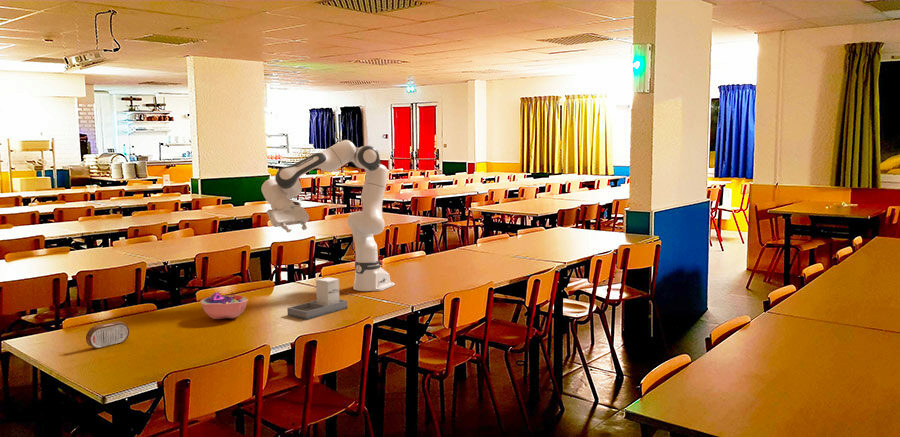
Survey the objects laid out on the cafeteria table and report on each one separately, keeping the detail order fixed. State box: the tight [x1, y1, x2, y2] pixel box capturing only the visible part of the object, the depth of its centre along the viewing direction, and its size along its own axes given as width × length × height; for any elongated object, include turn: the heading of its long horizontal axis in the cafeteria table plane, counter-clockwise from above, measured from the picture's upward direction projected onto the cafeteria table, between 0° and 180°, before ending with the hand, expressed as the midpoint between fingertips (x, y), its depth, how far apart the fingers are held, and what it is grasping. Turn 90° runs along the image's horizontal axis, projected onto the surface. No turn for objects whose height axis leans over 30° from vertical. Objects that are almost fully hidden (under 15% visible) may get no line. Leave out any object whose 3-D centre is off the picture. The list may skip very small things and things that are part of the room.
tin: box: [85, 321, 130, 349], centre depth 251 cm, size 15×3×8 cm, turn 141°
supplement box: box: [315, 276, 340, 306], centre depth 301 cm, size 7×7×13 cm
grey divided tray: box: [287, 298, 348, 321], centre depth 297 cm, size 24×12×4 cm, turn 143°
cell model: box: [200, 291, 249, 320], centre depth 287 cm, size 17×20×11 cm
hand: (297, 230), depth 314 cm, fingers open, 8 cm apart
